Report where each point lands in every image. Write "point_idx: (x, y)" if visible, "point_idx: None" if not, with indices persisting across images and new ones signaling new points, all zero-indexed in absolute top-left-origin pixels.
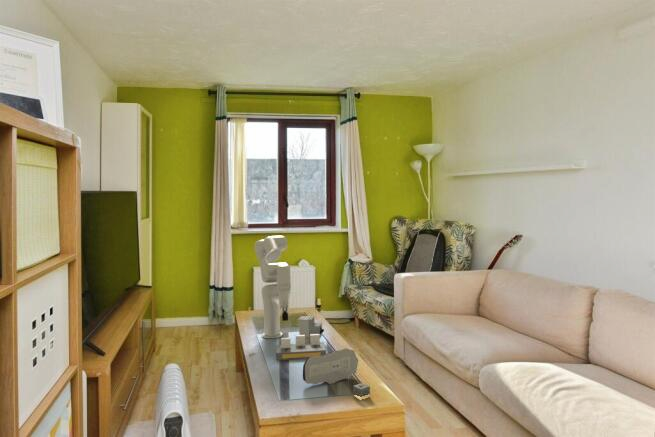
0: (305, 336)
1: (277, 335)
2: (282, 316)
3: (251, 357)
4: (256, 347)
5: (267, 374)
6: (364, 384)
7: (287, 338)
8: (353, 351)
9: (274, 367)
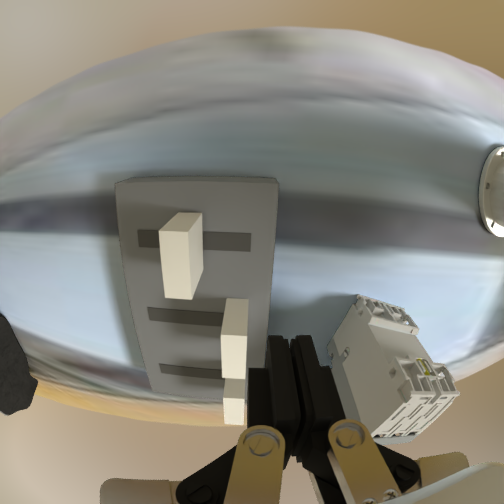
0: (352, 352)
1: (490, 211)
2: (272, 381)
3: (210, 42)
4: (383, 78)
5: (12, 157)
6: None
7: (171, 279)
8: (6, 413)
9: (58, 173)
